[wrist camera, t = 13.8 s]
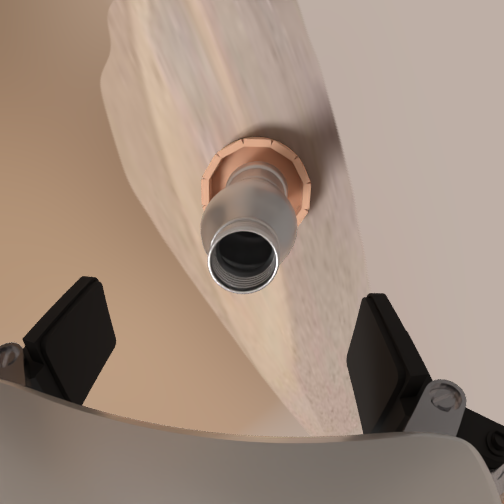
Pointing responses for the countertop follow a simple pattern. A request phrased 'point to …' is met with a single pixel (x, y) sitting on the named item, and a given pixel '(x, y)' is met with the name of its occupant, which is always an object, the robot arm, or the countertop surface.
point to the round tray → (264, 152)
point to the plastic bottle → (249, 228)
